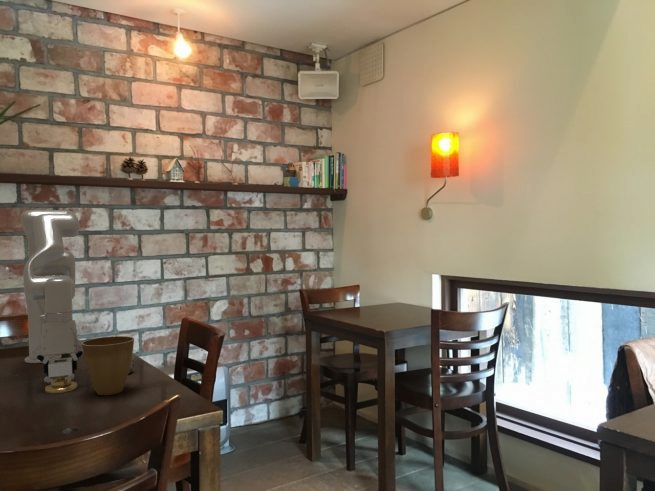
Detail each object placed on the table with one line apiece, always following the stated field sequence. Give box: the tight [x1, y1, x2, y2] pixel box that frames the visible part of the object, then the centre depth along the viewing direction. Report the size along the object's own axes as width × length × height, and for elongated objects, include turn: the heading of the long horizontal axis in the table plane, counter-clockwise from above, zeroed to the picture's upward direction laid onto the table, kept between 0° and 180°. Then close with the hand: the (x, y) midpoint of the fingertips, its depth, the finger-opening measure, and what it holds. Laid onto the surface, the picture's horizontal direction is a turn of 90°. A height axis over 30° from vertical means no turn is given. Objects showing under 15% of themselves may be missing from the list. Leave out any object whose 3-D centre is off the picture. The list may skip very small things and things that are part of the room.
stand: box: [43, 373, 75, 384], centre depth 177 cm, size 9×9×6 cm
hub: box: [44, 375, 78, 394], centre depth 166 cm, size 9×9×6 cm
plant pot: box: [81, 335, 135, 396], centre depth 162 cm, size 15×15×16 cm
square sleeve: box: [48, 357, 73, 377], centre depth 166 cm, size 6×6×4 cm
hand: (60, 373), depth 166 cm, fingers closed on square sleeve, 6 cm apart
